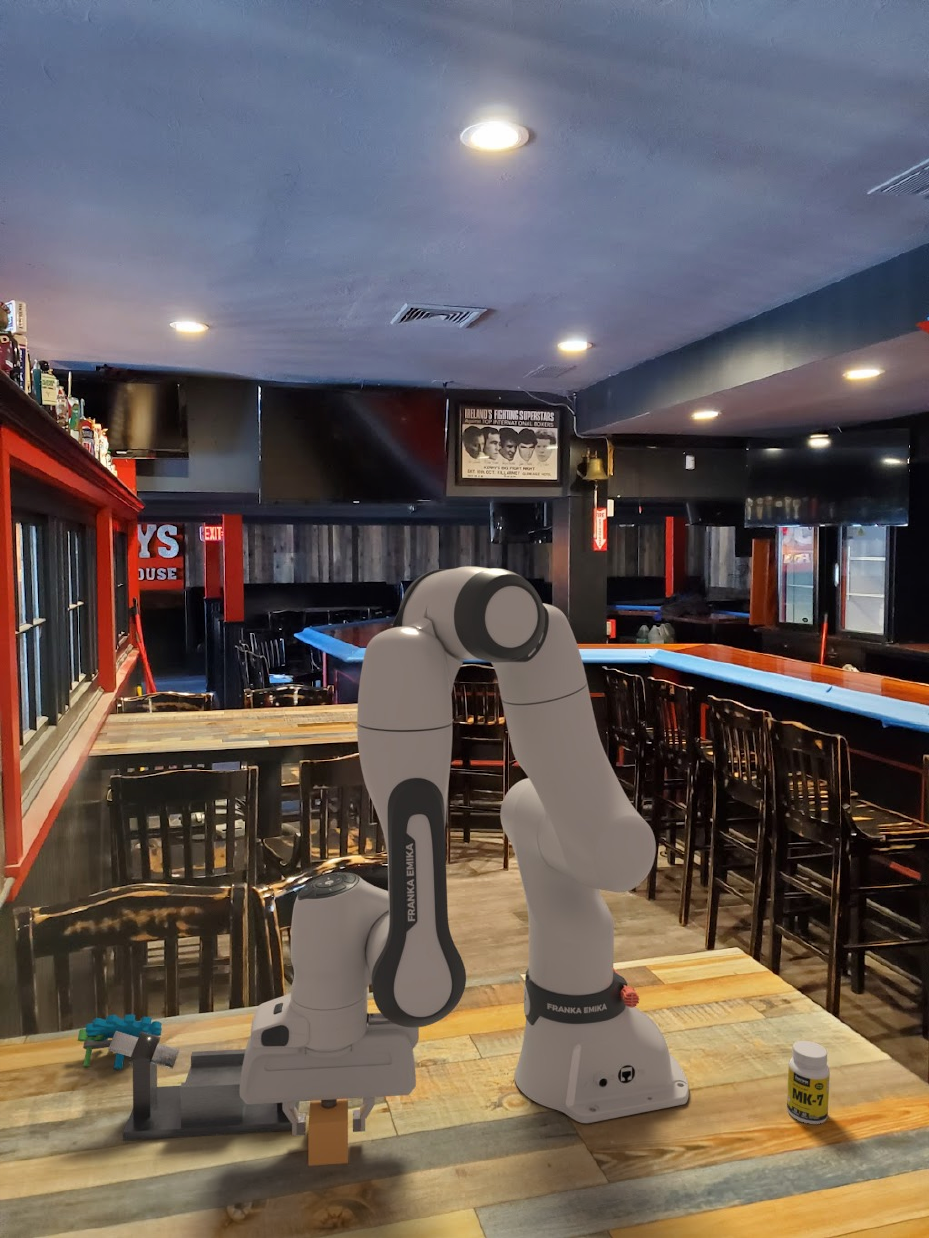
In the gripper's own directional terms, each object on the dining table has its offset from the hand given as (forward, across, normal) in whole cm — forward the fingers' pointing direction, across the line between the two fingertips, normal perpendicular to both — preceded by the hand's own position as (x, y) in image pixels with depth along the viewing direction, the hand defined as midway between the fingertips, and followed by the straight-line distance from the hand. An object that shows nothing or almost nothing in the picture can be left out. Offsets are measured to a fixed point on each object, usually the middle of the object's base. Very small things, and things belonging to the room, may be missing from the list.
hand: (329, 1130), depth 104 cm
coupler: (+2, 0, 0) cm, 2 cm away
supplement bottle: (+2, -59, 0) cm, 59 cm away
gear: (+2, +29, -22) cm, 36 cm away
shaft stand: (+2, +14, -8) cm, 16 cm away
